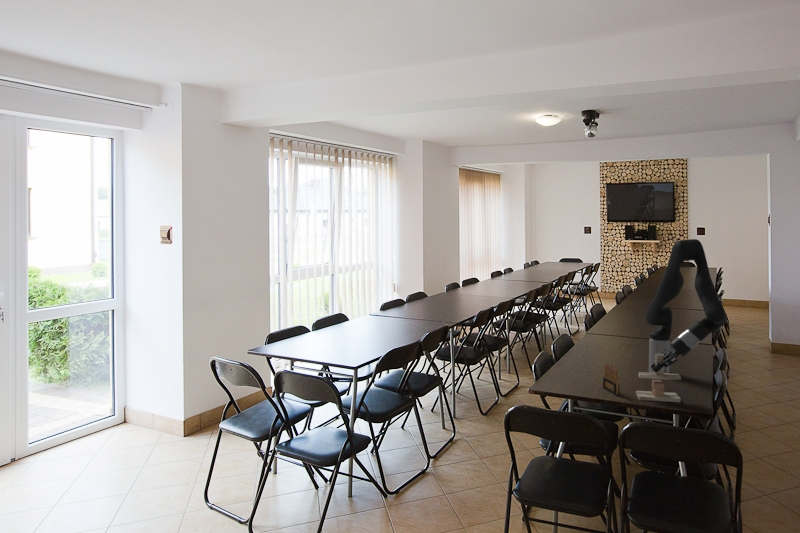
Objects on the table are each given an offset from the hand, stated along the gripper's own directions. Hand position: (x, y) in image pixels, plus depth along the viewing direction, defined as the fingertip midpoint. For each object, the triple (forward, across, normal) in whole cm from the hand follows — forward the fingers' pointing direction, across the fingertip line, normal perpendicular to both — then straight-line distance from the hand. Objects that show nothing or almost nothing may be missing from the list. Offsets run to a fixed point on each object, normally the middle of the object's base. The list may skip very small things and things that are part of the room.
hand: (653, 369), depth 234 cm
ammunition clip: (+20, -6, -2) cm, 21 cm away
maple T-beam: (+1, 0, +4) cm, 4 cm away
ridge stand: (+7, 0, +10) cm, 13 cm away
